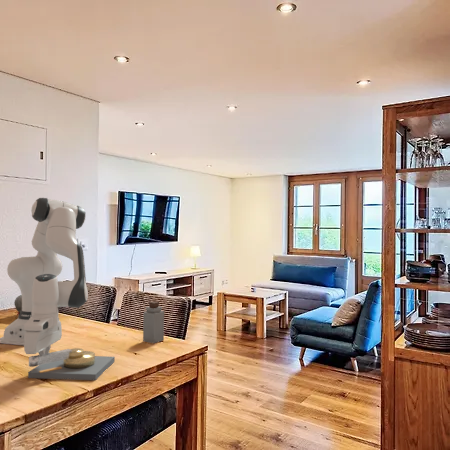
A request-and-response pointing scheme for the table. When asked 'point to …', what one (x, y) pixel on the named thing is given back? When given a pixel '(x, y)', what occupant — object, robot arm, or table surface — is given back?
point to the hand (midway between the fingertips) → (44, 359)
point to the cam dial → (65, 358)
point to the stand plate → (72, 370)
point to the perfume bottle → (153, 323)
